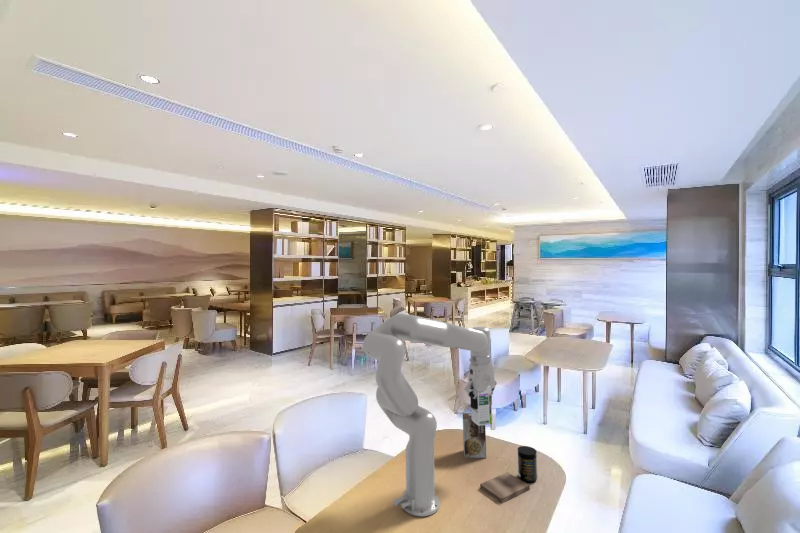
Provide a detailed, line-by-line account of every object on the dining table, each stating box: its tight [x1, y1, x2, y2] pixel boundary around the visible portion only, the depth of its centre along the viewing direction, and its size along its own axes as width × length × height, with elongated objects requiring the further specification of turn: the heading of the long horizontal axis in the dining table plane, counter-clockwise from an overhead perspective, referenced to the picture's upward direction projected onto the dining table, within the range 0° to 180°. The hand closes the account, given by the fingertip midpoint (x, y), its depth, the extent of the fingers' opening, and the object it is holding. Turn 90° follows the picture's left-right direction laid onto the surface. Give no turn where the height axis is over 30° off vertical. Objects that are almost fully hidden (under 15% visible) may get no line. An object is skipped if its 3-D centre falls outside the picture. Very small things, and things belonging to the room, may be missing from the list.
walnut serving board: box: [479, 472, 531, 504], centre depth 128 cm, size 14×10×2 cm
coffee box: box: [462, 412, 487, 459], centre depth 153 cm, size 9×6×16 cm
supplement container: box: [517, 445, 538, 484], centre depth 134 cm, size 7×7×10 cm
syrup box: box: [470, 386, 493, 426], centre depth 138 cm, size 6×6×14 cm
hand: (481, 405), depth 138 cm, fingers closed on syrup box, 6 cm apart
